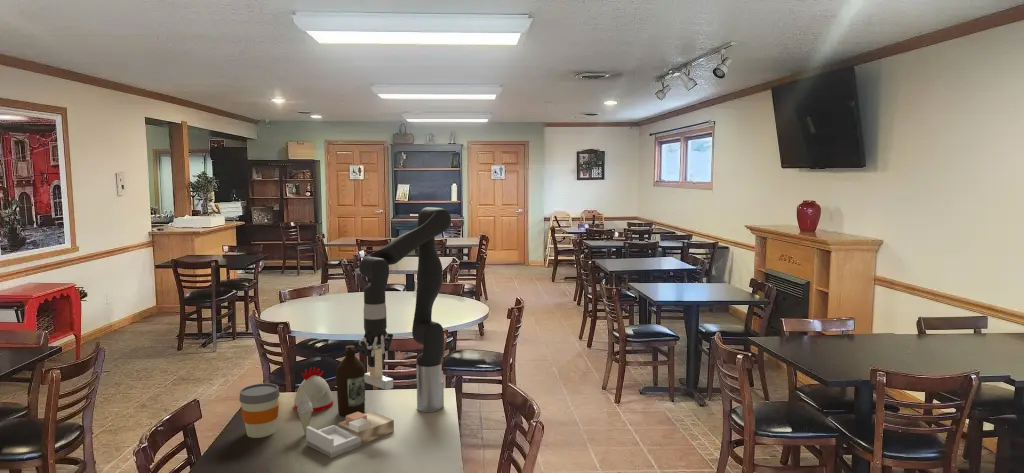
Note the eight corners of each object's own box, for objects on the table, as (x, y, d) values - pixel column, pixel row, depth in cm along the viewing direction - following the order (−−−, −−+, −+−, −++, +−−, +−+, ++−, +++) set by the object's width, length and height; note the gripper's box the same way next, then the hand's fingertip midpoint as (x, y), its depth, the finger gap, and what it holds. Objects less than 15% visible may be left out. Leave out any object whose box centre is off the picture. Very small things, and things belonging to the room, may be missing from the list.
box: (336, 433, 206) (335, 416, 205) (360, 445, 197) (360, 428, 196) (306, 444, 197) (306, 426, 197) (331, 457, 188) (330, 439, 188)
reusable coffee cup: (266, 441, 200) (265, 397, 198) (232, 438, 202) (230, 394, 201) (288, 426, 212) (286, 384, 210) (255, 423, 214) (254, 381, 213)
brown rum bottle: (331, 412, 224) (329, 346, 222) (357, 405, 231) (355, 340, 229) (345, 421, 217) (344, 352, 214) (371, 413, 224) (370, 346, 221)
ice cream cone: (297, 438, 202) (295, 394, 201) (298, 431, 207) (297, 389, 206) (313, 436, 204) (312, 393, 202) (314, 430, 208) (312, 387, 207)
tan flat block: (372, 421, 216) (372, 411, 215) (393, 431, 208) (393, 419, 208) (338, 434, 205) (338, 423, 205) (359, 444, 197) (359, 432, 197)
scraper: (371, 379, 214) (370, 343, 213) (393, 387, 207) (392, 350, 205) (362, 382, 211) (361, 346, 210) (383, 390, 204) (383, 352, 202)
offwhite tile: (361, 423, 205) (361, 417, 204) (370, 427, 201) (370, 421, 201) (349, 428, 201) (348, 422, 201) (358, 432, 198) (357, 426, 197)
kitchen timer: (289, 404, 232) (287, 366, 230) (324, 396, 241) (322, 359, 239) (303, 415, 221) (301, 375, 220) (338, 406, 230) (338, 368, 229)
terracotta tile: (358, 417, 210) (358, 411, 210) (366, 420, 207) (366, 415, 207) (345, 421, 206) (345, 415, 206) (354, 425, 203) (354, 419, 203)
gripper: (364, 321, 198) (365, 372, 200) (398, 313, 209) (399, 362, 211) (350, 317, 203) (352, 368, 205) (384, 310, 214) (385, 358, 216)
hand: (376, 365), depth 208 cm, fingers closed on scraper, 3 cm apart
